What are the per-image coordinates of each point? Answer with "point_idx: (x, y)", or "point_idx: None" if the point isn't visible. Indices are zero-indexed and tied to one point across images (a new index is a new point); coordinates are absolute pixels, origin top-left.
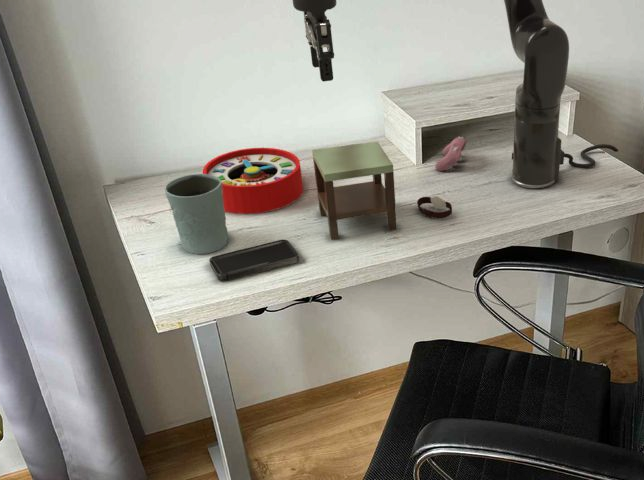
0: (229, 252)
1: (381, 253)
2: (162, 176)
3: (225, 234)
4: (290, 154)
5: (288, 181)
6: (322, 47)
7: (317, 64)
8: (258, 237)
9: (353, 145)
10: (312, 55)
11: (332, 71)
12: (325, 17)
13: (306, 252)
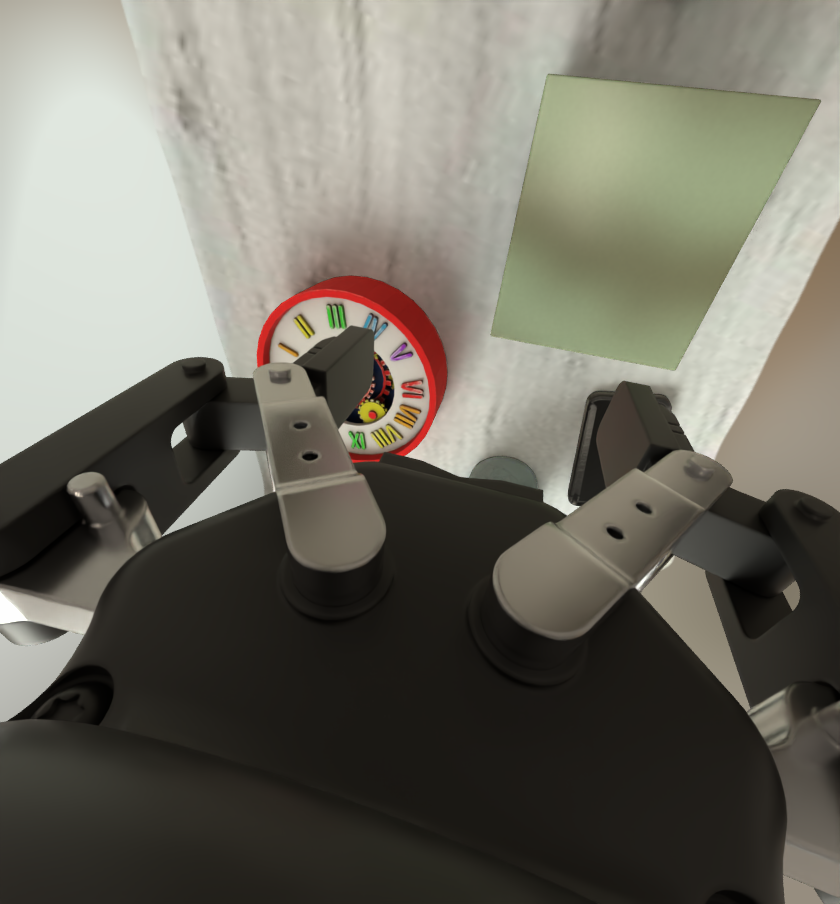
0: (572, 479)
1: (788, 227)
2: (267, 461)
3: (524, 472)
4: (306, 298)
5: (423, 342)
6: (330, 369)
7: (367, 368)
8: (531, 419)
9: (531, 197)
10: (347, 411)
11: (657, 405)
12: (763, 857)
13: (643, 372)
